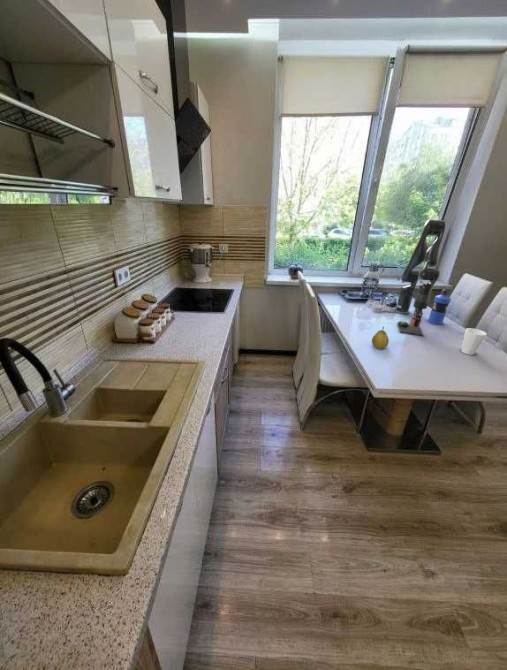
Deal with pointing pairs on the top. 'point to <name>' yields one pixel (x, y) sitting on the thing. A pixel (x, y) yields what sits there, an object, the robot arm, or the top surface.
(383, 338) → the fruit
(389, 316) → the top surface
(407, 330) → the scale
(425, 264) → the robot arm
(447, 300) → the water bottle
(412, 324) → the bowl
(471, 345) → the foam cup
